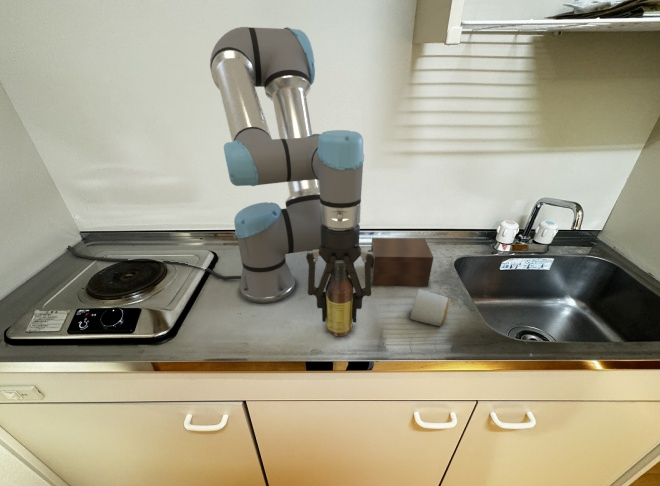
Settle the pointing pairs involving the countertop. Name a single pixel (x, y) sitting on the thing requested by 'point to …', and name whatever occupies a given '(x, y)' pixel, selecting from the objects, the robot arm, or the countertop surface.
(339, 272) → the sauce bottle
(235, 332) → the countertop surface
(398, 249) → the wooden brown block
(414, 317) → the white cylinder
